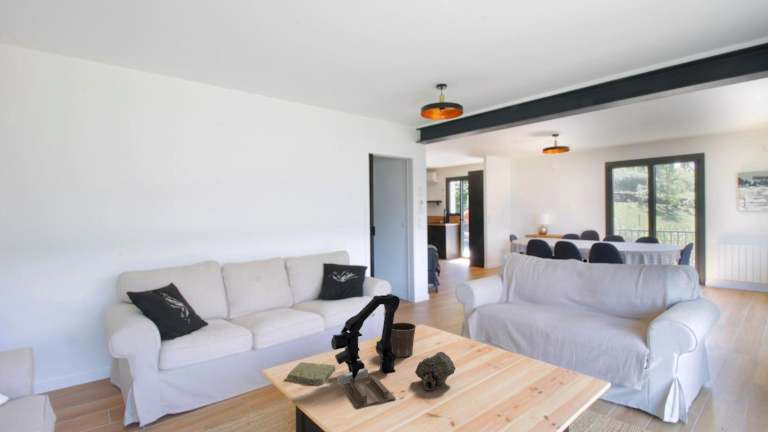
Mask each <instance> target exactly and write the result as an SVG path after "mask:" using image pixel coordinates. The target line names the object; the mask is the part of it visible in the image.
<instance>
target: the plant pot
mask: <svg viewBox="0 0 768 432" xmlns="http://www.w3.org/2000/svg"><path fill="white" fill-rule="evenodd" d="M416 327H417V325H415V323H414V324H413V323H410V322H393V327H392V334H391V344H392V353H393V354H394V355H396V358H397V357H398V358H407V357H411V356H412V355H413V354H414V340H415V334H416Z"/></svg>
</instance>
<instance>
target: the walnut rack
mask: <svg viewBox="0 0 768 432" xmlns="http://www.w3.org/2000/svg"><path fill="white" fill-rule="evenodd" d="M342 389H343V390H344V392H345V393H346V394H347V396H348V397H349V399H350V400H351V401H352V403H353V405H354V406H355V407H356V409H360V408H364V407H370V406H373V405H378V404H384V403H388V402H393V401H396V399H397V398H396V397H395V395H394V394H393V393H392V392H391V391H390V390H389V389H388V388H387V387H386V385H384V383H383V382H382V381H381V380H380V379H378V377H376V376H375V375H374V374H373V375H369V380H368V381H364V382H357V380H355V379H350V382H349V384H348V385H347V384H345V385H342Z"/></svg>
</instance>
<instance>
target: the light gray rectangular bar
mask: <svg viewBox="0 0 768 432" xmlns="http://www.w3.org/2000/svg"><path fill="white" fill-rule="evenodd" d="M368 377H369V369H367V368H364V369H360V370H359V371H358V374H357V376H356V378H355V381H358V380H361V379H364V378H365V379H366V378H368ZM350 379H353V377H352V372H345V373H343V374H339V375H336V384H338V385H339V386H344V385H347V384H348V383H349V384H350Z"/></svg>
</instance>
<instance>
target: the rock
mask: <svg viewBox="0 0 768 432" xmlns="http://www.w3.org/2000/svg"><path fill="white" fill-rule="evenodd" d="M416 366H417V367H416V369H415V371H414V373H415V375H416V376H417V377H418V378H419V379H421V381H422V386H423V388H424V389H425V390H426V391H428V392H431V391H432V390H434V389H435V386H436V385H442V384H445V382H447V379H448V377H450V376H451V375H454V374H455V372H456V371H455V370H456V366H455V364H454V361H452V358H451V357H450V356H449V355H448V354H446V353H445V352H443V351H439V352H437V353H435V355H433V356H430V357H426V358H424V359H423V360H422V361H419V363H418V364H417V365H416Z"/></svg>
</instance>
